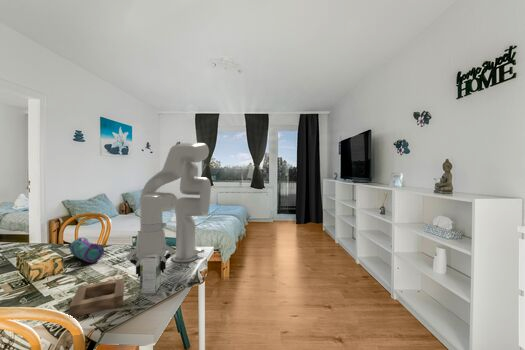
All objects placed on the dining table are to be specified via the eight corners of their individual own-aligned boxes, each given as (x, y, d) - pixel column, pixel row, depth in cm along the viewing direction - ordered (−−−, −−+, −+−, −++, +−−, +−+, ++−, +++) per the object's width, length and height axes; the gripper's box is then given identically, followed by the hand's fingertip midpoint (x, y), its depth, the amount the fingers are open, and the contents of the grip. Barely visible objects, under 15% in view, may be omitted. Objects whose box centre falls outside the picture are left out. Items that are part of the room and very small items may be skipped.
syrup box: (145, 286, 91) (146, 249, 91) (161, 285, 92) (161, 249, 91) (139, 294, 86) (139, 255, 85) (156, 293, 86) (156, 254, 86)
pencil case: (67, 256, 121) (67, 238, 120) (87, 251, 128) (88, 234, 128) (84, 266, 109) (84, 246, 109) (105, 260, 116) (105, 241, 116)
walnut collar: (124, 287, 90) (124, 278, 90) (122, 305, 78) (122, 295, 78) (78, 296, 83) (78, 286, 83) (69, 317, 71) (69, 306, 71)
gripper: (174, 223, 96) (173, 265, 96) (125, 227, 87) (124, 274, 88) (177, 227, 89) (176, 272, 89) (124, 232, 81) (124, 282, 81)
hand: (151, 273), depth 88 cm, fingers closed on syrup box, 7 cm apart
